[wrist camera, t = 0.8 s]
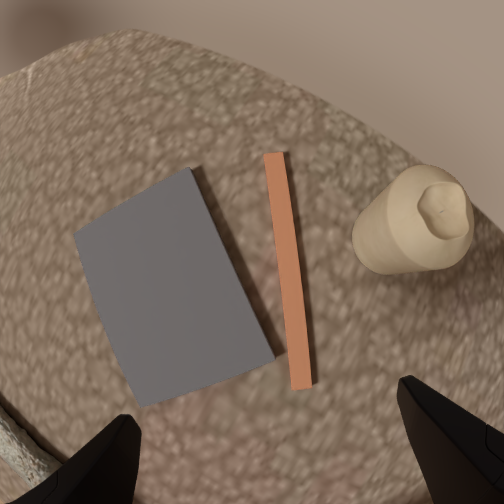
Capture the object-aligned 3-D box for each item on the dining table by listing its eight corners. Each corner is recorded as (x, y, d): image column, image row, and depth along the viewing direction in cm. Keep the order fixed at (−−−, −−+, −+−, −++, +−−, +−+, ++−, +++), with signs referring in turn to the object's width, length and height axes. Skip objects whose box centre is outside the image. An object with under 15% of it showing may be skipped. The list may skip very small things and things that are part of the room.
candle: (380, 189, 22) (433, 133, 12) (428, 238, 22) (503, 211, 12) (336, 239, 22) (373, 206, 12) (386, 290, 22) (453, 293, 12)
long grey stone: (-23, 353, 27) (-23, 401, 27) (-50, 357, 22) (-47, 408, 22) (185, 532, 20) (161, 561, 20) (166, 563, 15) (144, 585, 15)
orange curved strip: (311, 385, 21) (312, 387, 21) (291, 388, 22) (291, 390, 21) (282, 154, 23) (282, 151, 23) (263, 156, 24) (263, 154, 23)
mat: (275, 357, 22) (275, 359, 21) (144, 404, 23) (140, 407, 22) (191, 169, 24) (188, 166, 23) (78, 234, 25) (73, 233, 24)
